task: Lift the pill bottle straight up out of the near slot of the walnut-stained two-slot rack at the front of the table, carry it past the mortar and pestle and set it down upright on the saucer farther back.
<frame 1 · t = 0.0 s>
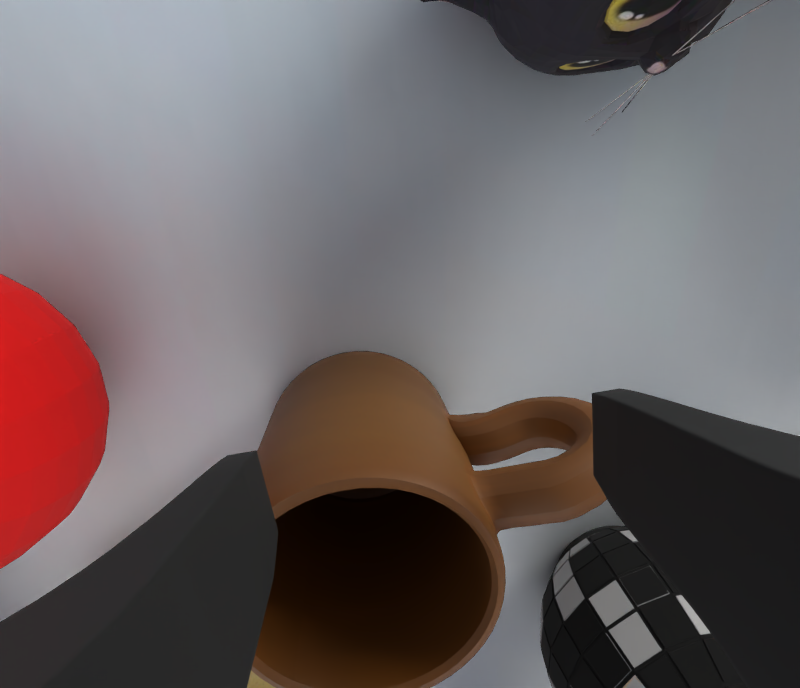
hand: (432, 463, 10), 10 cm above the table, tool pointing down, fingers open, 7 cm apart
tomato: (18, 366, 19), on the table
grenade: (606, 575, 25), on the table
mug: (406, 405, 21), on the table
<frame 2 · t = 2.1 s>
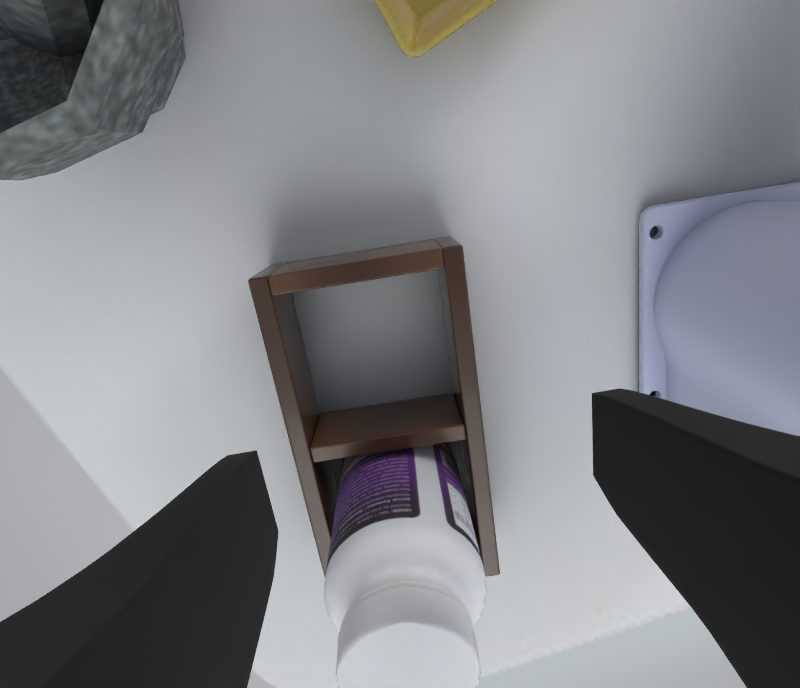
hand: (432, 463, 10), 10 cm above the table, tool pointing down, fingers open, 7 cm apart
pill bottle: (399, 471, 22), resting in rack
rack: (388, 409, 21), on the table
mortar and pestle: (113, 25, 17), on the table
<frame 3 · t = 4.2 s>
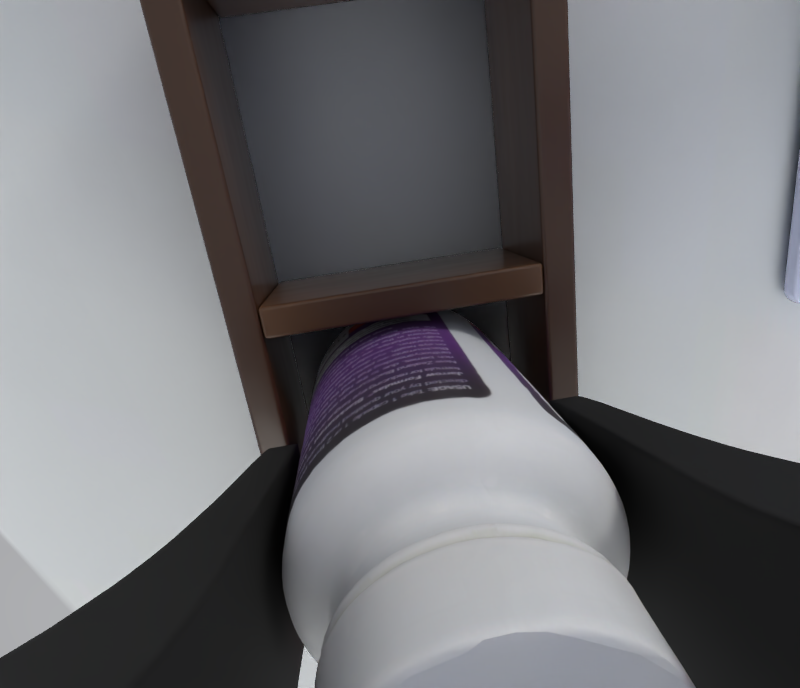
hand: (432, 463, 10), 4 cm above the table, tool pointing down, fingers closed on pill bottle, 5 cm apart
pill bottle: (409, 388, 14), resting in rack, touching gripper
rack: (393, 277, 13), on the table
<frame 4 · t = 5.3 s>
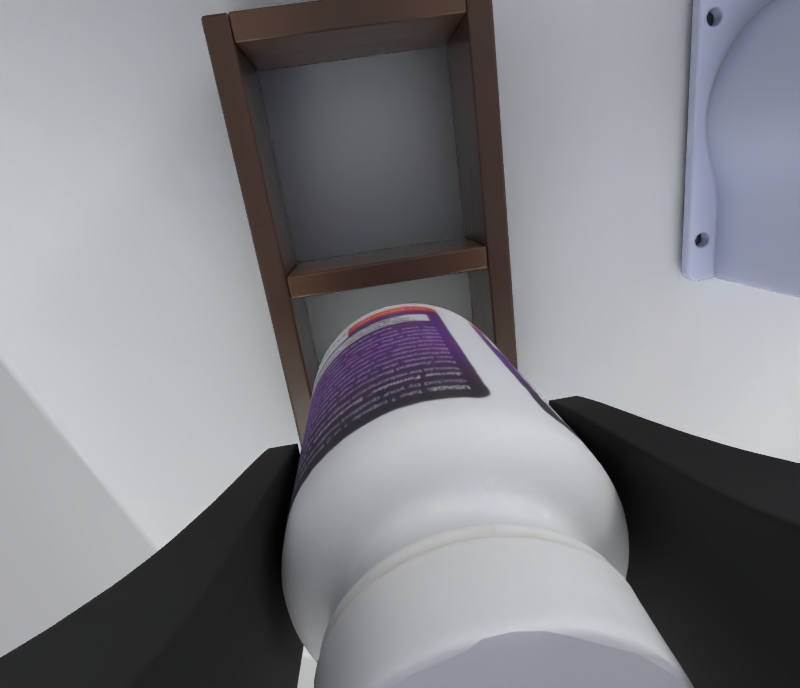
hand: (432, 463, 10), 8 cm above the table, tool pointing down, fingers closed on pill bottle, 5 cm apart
pill bottle: (408, 388, 14), point 4 cm above the table, touching gripper
rack: (383, 259, 17), on the table
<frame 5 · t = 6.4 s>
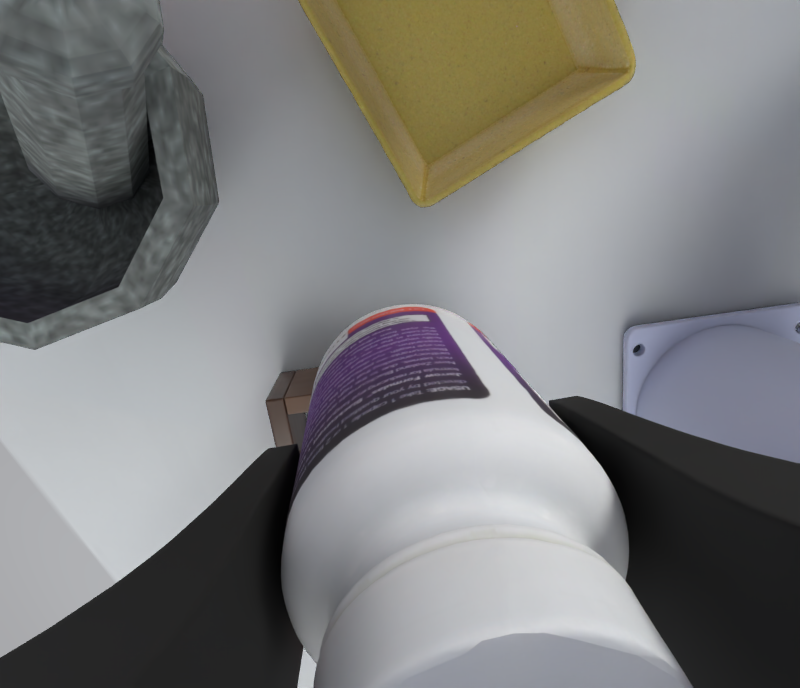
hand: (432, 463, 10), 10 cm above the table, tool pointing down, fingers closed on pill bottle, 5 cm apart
pill bottle: (408, 388, 14), point 6 cm above the table, touching gripper
rack: (388, 500, 22), on the table
saucer: (456, 40, 17), on the table
mortar and pestle: (143, 159, 18), on the table
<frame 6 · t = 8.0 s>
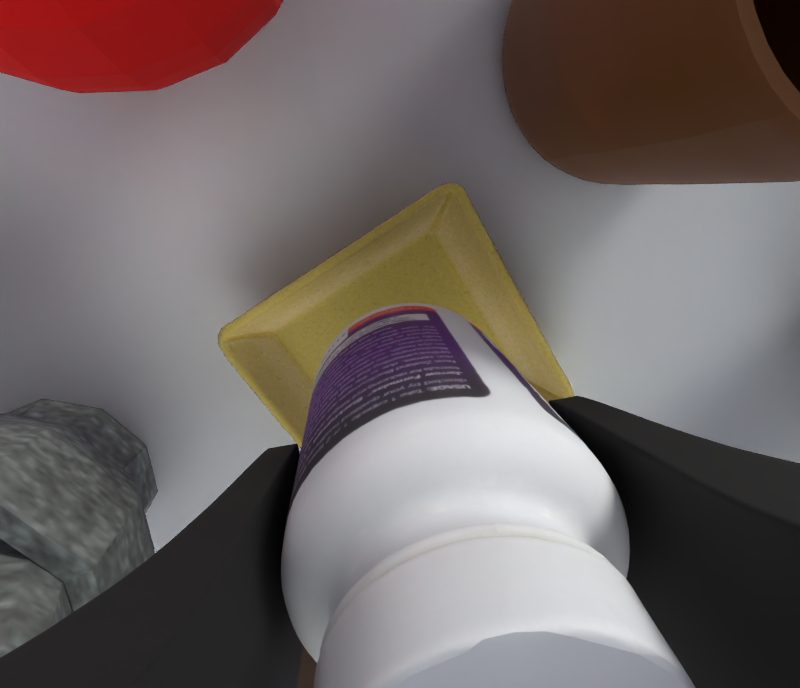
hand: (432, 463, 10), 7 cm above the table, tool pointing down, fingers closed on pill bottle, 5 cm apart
pill bottle: (408, 387, 14), point 3 cm above the table, touching gripper
saucer: (400, 350, 17), on the table
mug: (676, 27, 15), on the table
mortar and pestle: (87, 467, 18), on the table
when the fingers open (6 cm above the table, at t = 9.0 s): pill bottle stays where it is, resting on saucer.
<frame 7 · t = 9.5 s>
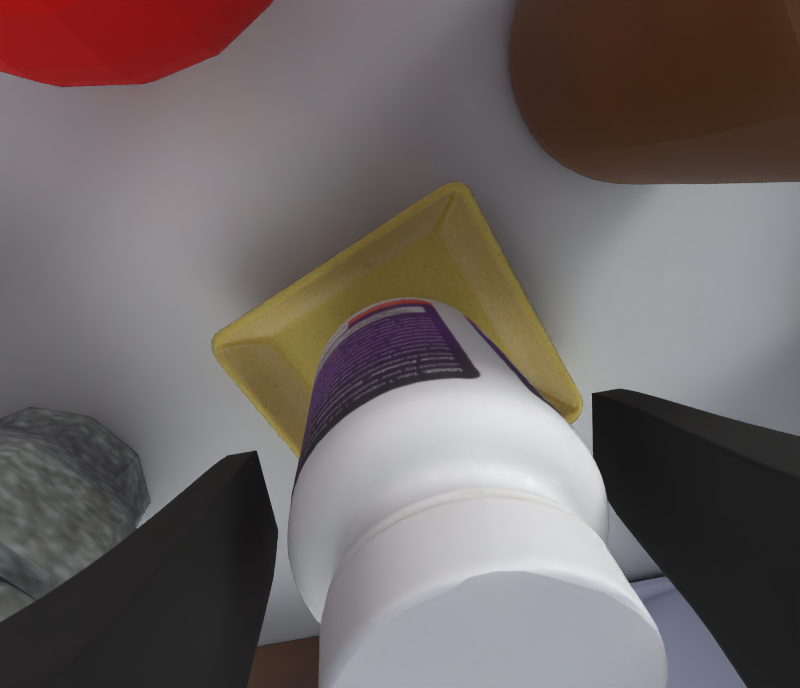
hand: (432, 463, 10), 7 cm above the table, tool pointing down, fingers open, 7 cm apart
pill bottle: (406, 378, 15), point 2 cm above the table, touching saucer
saucer: (402, 356, 17), on the table, touching pill bottle
mug: (690, 20, 14), on the table
mortar and pestle: (78, 477, 17), on the table
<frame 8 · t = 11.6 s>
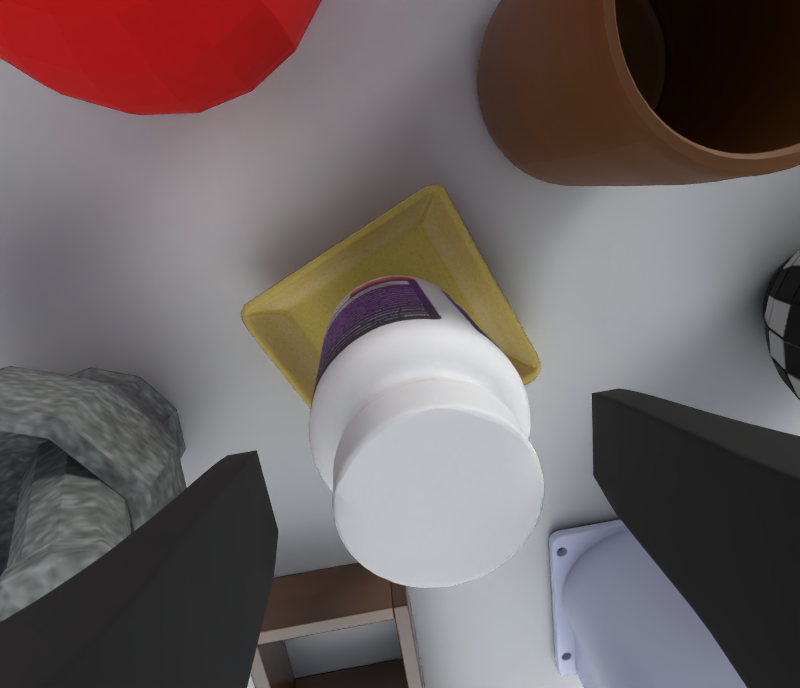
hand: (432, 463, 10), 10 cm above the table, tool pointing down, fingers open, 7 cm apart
pill bottle: (396, 342, 18), point 2 cm above the table, touching saucer
rack: (352, 672, 26), on the table
saucer: (394, 327, 20), on the table, touching pill bottle
mug: (624, 54, 18), on the table
mortar and pestle: (126, 428, 21), on the table
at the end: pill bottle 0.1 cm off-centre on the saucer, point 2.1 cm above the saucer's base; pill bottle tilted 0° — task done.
